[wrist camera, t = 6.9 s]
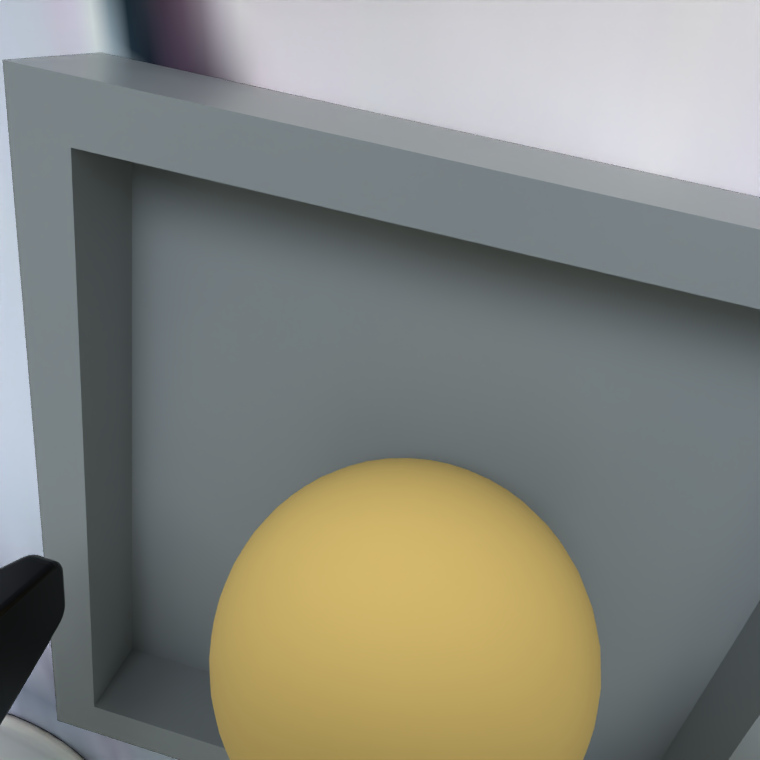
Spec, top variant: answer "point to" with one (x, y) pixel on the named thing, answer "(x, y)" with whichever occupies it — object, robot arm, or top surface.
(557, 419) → the tray
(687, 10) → the top surface
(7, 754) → the lidded jar
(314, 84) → the top surface
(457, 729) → the ball
